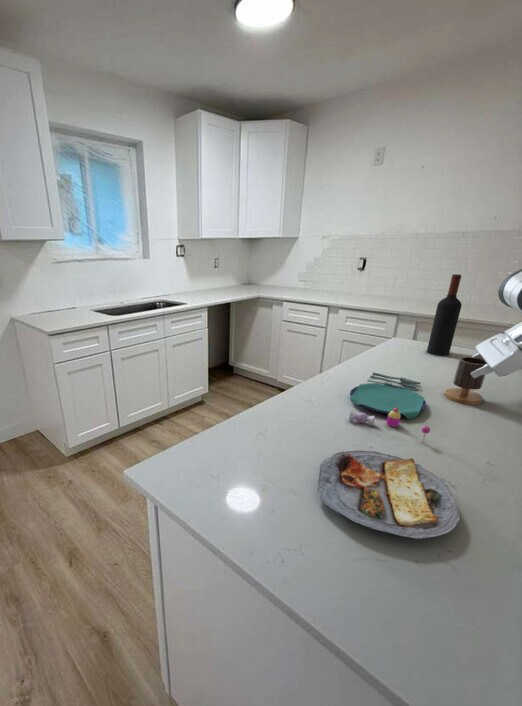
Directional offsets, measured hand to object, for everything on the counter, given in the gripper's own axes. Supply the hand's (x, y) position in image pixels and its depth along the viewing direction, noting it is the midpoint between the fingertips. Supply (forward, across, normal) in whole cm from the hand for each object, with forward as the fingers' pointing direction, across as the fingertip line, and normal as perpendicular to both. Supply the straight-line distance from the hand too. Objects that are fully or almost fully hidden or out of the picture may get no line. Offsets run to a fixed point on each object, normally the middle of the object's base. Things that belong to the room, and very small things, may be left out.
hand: (468, 370), depth 104 cm
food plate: (+22, +55, -9) cm, 60 cm away
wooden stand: (+6, 0, +7) cm, 9 cm away
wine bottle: (+7, -44, +6) cm, 45 cm away
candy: (+21, +27, -8) cm, 35 cm away
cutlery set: (+20, +7, -7) cm, 22 cm away
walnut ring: (+3, 0, +4) cm, 4 cm away
